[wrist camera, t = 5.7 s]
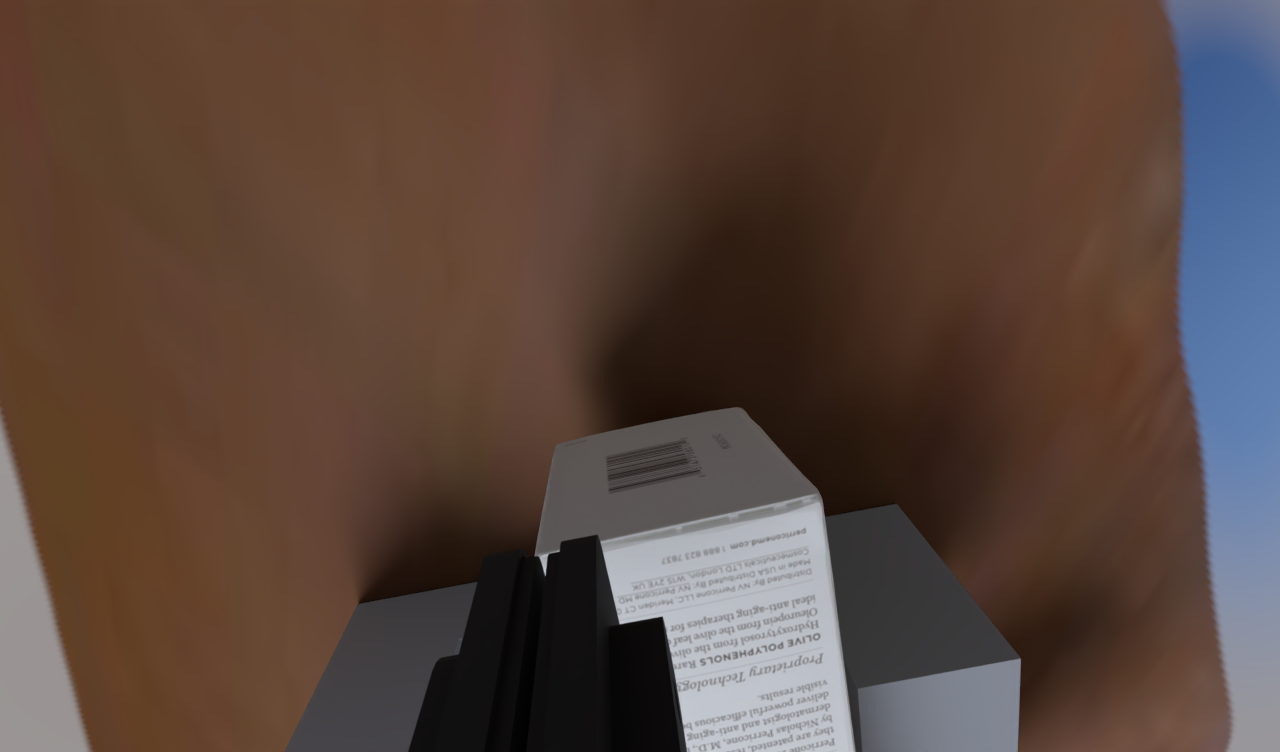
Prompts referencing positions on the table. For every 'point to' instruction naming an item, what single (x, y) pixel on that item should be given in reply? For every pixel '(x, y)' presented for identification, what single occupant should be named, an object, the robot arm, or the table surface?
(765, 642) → the skincare box
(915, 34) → the table surface
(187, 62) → the table surface
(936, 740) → the u rest
